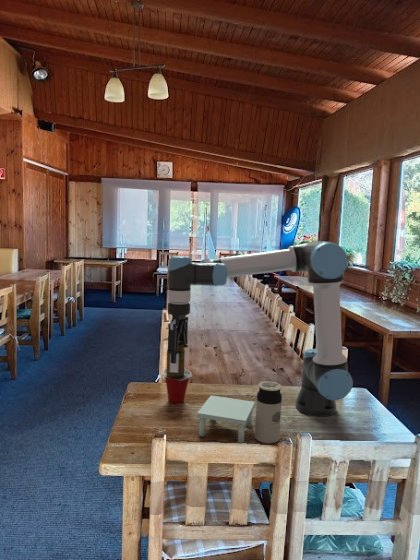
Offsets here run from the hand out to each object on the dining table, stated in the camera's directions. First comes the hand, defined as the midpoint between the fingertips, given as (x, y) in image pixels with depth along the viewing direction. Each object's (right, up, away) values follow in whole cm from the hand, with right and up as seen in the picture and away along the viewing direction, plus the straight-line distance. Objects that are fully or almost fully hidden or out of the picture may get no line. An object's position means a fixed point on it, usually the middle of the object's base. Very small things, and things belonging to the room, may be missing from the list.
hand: (177, 368), depth 153 cm
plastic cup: (-2, -17, +21) cm, 27 cm away
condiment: (0, -3, 0) cm, 3 cm away
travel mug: (+30, -22, -6) cm, 37 cm away
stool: (+17, -20, -2) cm, 26 cm away
